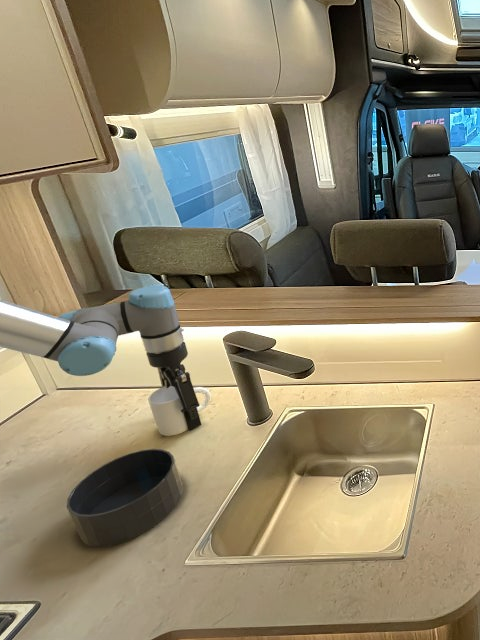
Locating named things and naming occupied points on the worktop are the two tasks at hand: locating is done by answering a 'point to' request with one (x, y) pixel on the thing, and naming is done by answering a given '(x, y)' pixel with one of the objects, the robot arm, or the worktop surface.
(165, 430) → the mug
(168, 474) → the pot
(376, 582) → the worktop surface
